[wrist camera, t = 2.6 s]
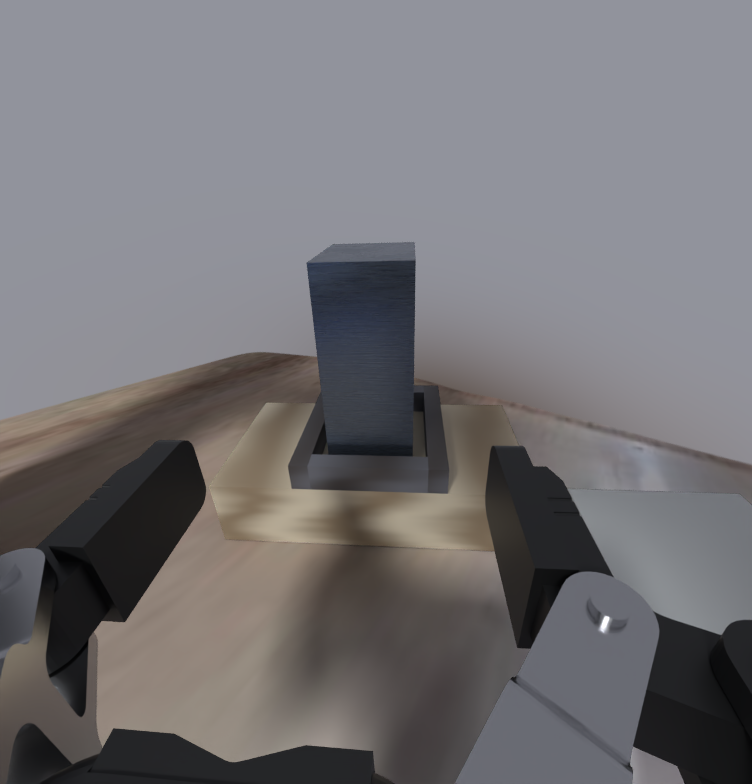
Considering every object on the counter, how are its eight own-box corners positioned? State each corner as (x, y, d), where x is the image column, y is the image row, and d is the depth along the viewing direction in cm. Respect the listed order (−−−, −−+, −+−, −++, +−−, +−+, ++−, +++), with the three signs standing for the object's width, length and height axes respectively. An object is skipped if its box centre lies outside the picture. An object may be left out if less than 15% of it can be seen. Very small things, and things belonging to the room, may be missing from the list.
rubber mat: (653, 670, 15) (658, 662, 15) (565, 495, 24) (567, 488, 24) (932, 689, 15) (941, 681, 14) (735, 501, 23) (739, 493, 23)
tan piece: (225, 539, 22) (201, 463, 19) (274, 446, 30) (262, 384, 27) (528, 552, 21) (546, 472, 18) (495, 451, 28) (504, 386, 26)
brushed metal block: (330, 471, 21) (306, 262, 16) (346, 414, 26) (332, 244, 21) (412, 473, 21) (415, 260, 15) (412, 415, 26) (414, 242, 21)
